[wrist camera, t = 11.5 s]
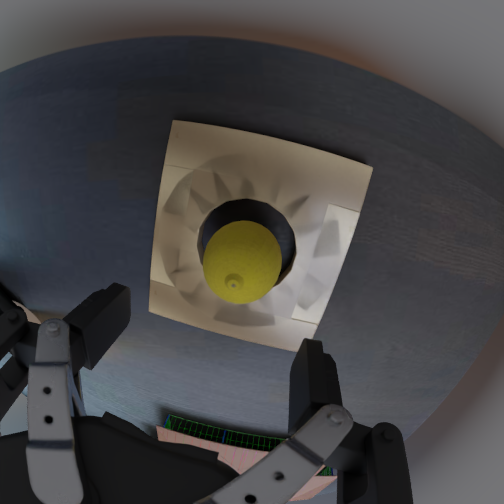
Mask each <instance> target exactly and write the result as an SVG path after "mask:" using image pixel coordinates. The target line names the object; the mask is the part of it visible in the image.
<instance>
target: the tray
mask: <svg viewBox="0 0 504 504" xmlns="http://www.w3.org/2000/svg"><path fill="white" fill-rule="evenodd" d="M372 170H373V167H371V166H368V165H365V164H362V163H359V162H356V161H354V160H351V159H348V158H345V157H342V156H338V155H335V154H332V153H329V152H326V151H322V150H319V149H315V148H312V147H308V146H305V145H301V144H297V143H294V142H290V141H286V140H282V139H278V138H274V137H269V136H265V135H261V134H256V133H251V132H247V131H242V130H236V129H231V128H226V127H220V126H214V125H208V124H201V123H195V122H187V121H180V120H173V122H172V127H171V131H170V136H169V141H168V146H167V151H166V156H165V162H164V167H163V173H162V179H161V185H160V192H159V199H158V206H157V213H156V222H155V230H154V240H153V250H152V262H151V275H150V279H151V280H150V295H149V312H152V313H155V314H158V315H161V316H164V317H167V318H170V319H173V320H176V321H179V322H182V323H186V324H189V325H192V326H195V327H199V328H202V329H206V330H209V331H213V332H216V333H220V334H223V335H227V336H231V337H235V338H238V339H242V340H246V341H250V342H254V343H258V344H263V345H267V346H271V347H276V348H280V349H285V350H289V351H294V352H298V350H299V348H300V345H301V343H302V341H303V339H304V338H309V339H312V338H313V336H314V334H315V331H316V329H317V327H318V324H319V323H320V320H321V318H322V316H323V313H324V311H325V308H326V306H327V304H328V301H329V299H330V296H331V294H332V291H333V289H334V286H335V283H336V281H337V278H338V276H339V273H340V270H341V268H342V265H343V262H344V259H345V257H346V254H347V251H348V248H349V245H350V242H351V239H352V236H353V233H354V230H355V227H356V224H357V221H358V218H359V215H360V212H361V208H362V205H363V202H364V198H365V195H366V192H367V188H368V185H369V181H370V178H371V174H372ZM244 198H249V199H253V200H257V201H261V202H265V203H268V204H269V205H271V206H272V207H273V208H275V209H276V210H277V211H279V212H280V213H281V214H283V215H284V216H285V218H286V220H287V221H288V223H289V225H290V226H291V228H292V230H293V232H294V235H295V244H296V248H295V251H294V254H293V258H292V261H291V264H290V265H289V266H288V267H287V269H286V270H285V271H284V272H283V273H282V274H281V276H280V277H278V279H277V281H276V283H275V284H274V285H273V287H272V288H271V290H270V291H269V292H268V293H267V294H265V295H264V296H263V297H262V298H260V299H258V300H256V301H254V302H250V303H246V304H235V303H231V302H228V301H226V300H223V299H221V298H220V297H219V296H217V295H216V294H215V293H214V292H213V291H212V290H211V289H210V287H209V286H208V284H207V282H206V280H205V277H204V272H203V256H204V249H203V245H202V235H203V229H204V224H205V222H206V220H207V219H208V217H209V216H210V214H211V213H212V211H213V210H214V209H215V208H217V207H218V206H220V205H222V204H223V203H225V202H226V201H231V200H238V199H244Z"/></svg>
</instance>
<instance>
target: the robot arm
mask: <svg viewBox="0 0 504 504" xmlns="http://www.w3.org/2000/svg"><path fill="white" fill-rule="evenodd" d="M130 316H131V303H130V288H129V287H126V286H124V285H121V284H118V283H113V284H111V285H110V286H109V287H108V288H107V289H106V290H104V289H101V290H99V291H96V292H94V293H92V294H91V295H90V296H89V297H87V299H85V300H84V301H83V302H82V303H81V304H79V305H78V306H77V307H76V308H75V309H73V310H72V311H71V312H70V313H69V314H68V315H67V316H65V317H64V318H63V319H62V320H61V319H57V318H53V319H48V320H46V321H44V322H43V323H42V324H37V323H33V322H29V321H28V319H27V316H26V313H25V312H24V311H23V310H21V309H10V310H7V311H6V312H4V313H3V314H2V315H1V316H0V361H1V359H2V358H3V357H4V356H5V355H6V354H7V353H8V352H9V351H10V350H11V351H12V353H13V356H12V357H11V358H10V359H9V360H8V361H7V362H6V363H5V364H4V366H3V367H2V368H1V369H0V421H1V420H2V418H3V417H4V415H5V414H6V413H7V411H8V410H9V408H10V407H11V406H12V404H13V403H14V402H15V400H16V399H17V398H18V396H19V395H20V394H21V392H22V391H23V390H24V388H25V387H26V386H27V384H28V395H27V401H28V402H27V414H28V430H27V431H23V432H18V433H14V434H9V435H4V436H1V433H0V504H285V503H287V502H288V501H289V500H290V499H291V498H292V497H293V496H294V495H295V494H296V493H297V492H298V491H299V490H300V489H301V488H302V487H303V486H304V485H305V484H306V483H307V482H308V481H309V480H310V479H311V478H312V477H313V476H314V475H315V473H316V472H317V471H318V470H319V469H320V468H321V467H322V465H325V466H328V467H331V468H334V469H337V504H413V498H412V489H411V482H410V475H409V469H408V463H407V458H406V453H405V447H404V442H403V437H402V434H401V432H400V430H399V429H398V428H397V427H396V426H394V425H393V424H391V423H387V422H382V423H378V424H377V425H375V426H374V427H373V428H370V427H367V426H364V425H361V424H358V423H356V422H354V421H353V418H352V415H351V414H350V412H349V411H348V410H347V409H345V408H344V407H343V404H342V398H341V392H340V386H339V381H338V374H337V368H336V363H335V361H334V360H333V358H332V357H331V355H330V354H326V353H323V346H322V342H321V341H318V340H313V339H309V338H304V339H303V341H302V343H301V345H300V348H299V350H298V352H297V354H296V357H295V359H294V361H293V363H292V366H291V371H290V391H289V423H288V434H293V436H291V437H290V438H287V439H285V440H284V441H283V442H281V443H280V444H279V445H278V446H277V447H275V448H274V449H273V450H272V451H271V452H269V453H268V454H267V455H266V456H264V457H263V458H262V459H261V460H259V461H258V462H257V463H255V464H254V465H253V466H251V467H250V468H249V469H247V470H246V471H245V472H243V473H242V474H241V475H240V474H239V473H238V472H237V471H236V470H234V469H233V468H232V467H230V466H229V465H227V464H226V463H224V462H222V461H220V460H218V455H219V452H216V451H212V450H208V449H204V448H201V447H197V446H194V445H190V444H182V443H173V442H165V441H159V440H156V439H154V438H152V437H151V436H149V435H148V434H146V433H145V432H143V431H142V430H140V429H139V428H138V427H136V426H135V425H133V424H132V423H130V422H128V421H126V420H123V419H121V418H119V417H117V416H115V415H113V414H111V413H109V412H107V411H106V412H105V413H104V415H103V417H97V416H87V415H86V411H85V407H84V401H83V394H82V385H81V376H80V371H79V370H80V369H81V368H82V367H83V366H84V367H85V368H87V369H89V370H92V369H93V368H94V366H95V365H96V364H97V363H98V361H99V360H100V359H101V358H102V356H103V355H104V354H105V353H106V351H107V350H108V349H109V348H110V346H111V345H112V344H113V343H114V342H115V340H116V339H117V338H118V337H119V335H120V334H121V333H122V332H123V331H124V329H125V328H126V327H127V325H128V323H129V321H130Z"/></svg>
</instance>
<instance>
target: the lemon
mask: <svg viewBox="0 0 504 504" xmlns="http://www.w3.org/2000/svg"><path fill="white" fill-rule="evenodd" d="M281 263H282V255H281V251H280V246H279V244H278V242H277V240H276V238H275V236H274V235H273V234H272V233H271V232H270V231H269V230H268V229H267V228H265V227H264V226H262V225H261V224H258V223H255V222H252V221H236V222H232V223H230V224H227V225H225V226H223V227H222V228H221V229H219V230H218V231H217V232H216V233H215V234H214V235H213V236H212V238H211V239H210V241H209V242H208V244H207V247H206V249H205V252H204V256H203V272H204V277H205V280H206V282H207V284H208V286H209V287H210V289H211V290H212V291H213V292H214V293H215V294H216V295H217V296H219V297H220V298H221V299H223V300H226V301H228V302H231V303H235V304H246V303H250V302H254V301H256V300H258V299H260V298H262V297H263V296H264V295H265V294H267V293H268V292H269V291H270V290H271V288H272V287H273V285H274V284H275V283H276V281H277V279H278V276H279V273H280V270H281Z"/></svg>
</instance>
